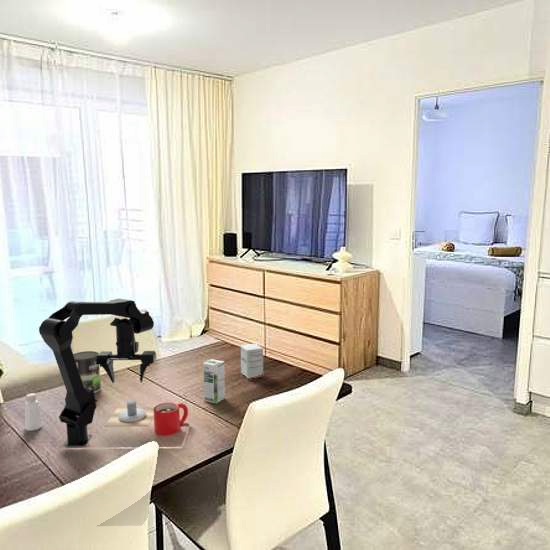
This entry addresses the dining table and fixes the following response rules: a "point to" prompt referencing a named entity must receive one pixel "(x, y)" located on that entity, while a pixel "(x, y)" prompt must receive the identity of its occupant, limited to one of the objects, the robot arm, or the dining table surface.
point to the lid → (132, 413)
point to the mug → (168, 418)
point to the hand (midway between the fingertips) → (127, 382)
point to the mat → (144, 422)
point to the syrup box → (214, 381)
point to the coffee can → (88, 369)
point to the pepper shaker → (32, 413)
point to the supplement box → (251, 360)
